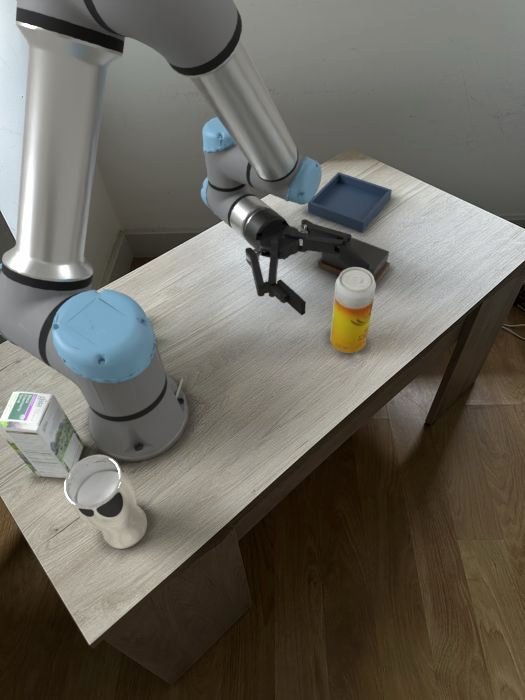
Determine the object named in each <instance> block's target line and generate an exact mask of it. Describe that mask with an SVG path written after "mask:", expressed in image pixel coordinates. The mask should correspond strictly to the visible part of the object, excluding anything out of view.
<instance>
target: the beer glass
mask: <svg viewBox="0 0 525 700" xmlns="http://www.w3.org/2000/svg"><path fill="white" fill-rule="evenodd" d="M63 489H64V494H65V496H66V499H67V500H68V501H69V503H70V504H71V506H72V508H73V510H74V511H75V512H76V514H77V516H79V518H81V520H83V522H85V523H86V524H88V525H89V526H90V527H92V528H94V529H96V530H98V531H100V532H101V533H102V537H103V539H104V541H105V542H106V543H107V544H108V545H109V546H110V547H112V548H115V549H118V550H119V549H120V550H122V549H128V548H131V547H134V546H135V545H136V544H138V543H139V542H140V541H141V540H142V539H143V537H144V536H145V534H146V531H147V528H148V519H147V515H146V513H145V511H144V510H143V509H142V508H141V507H140V506H139V505H137V497H136V493H135V489H134V486H133V483H132V481H131V479H130V478H129V476H128V474H127V473H126V472H125V470H124V469H123V468H122V467H121V465H120V464H119V463H118V460H117V459H114V458H112V457H110V456H108V455H106V454H92V455H88V456H86V457H84V458H82V459H79V462H77V463H76V464H75V465H74V466H73V467H72V468H71V470H70V471H69V473H68V475H67V477H66V478H65V480H64V485H63Z"/></svg>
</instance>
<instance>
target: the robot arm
mask: <svg viewBox="0 0 525 700" xmlns="http://www.w3.org/2000/svg"><path fill="white" fill-rule="evenodd" d="M15 1H16V8H15V9H16V11H15V25H16V27H17V28H18V30H19V31H20V33H21V34H22V36H23V37H24V38H25V40H26V42H27V44H28V47H29V48H28V59H27V73H26V89H25V90H26V91H25V106H24V119H23V132H22V133H23V134H22V150H21V164H20V176H19V177H20V178H19V190H18V191H19V192H18V193H19V194H18V195H19V196H18V205H17V207H18V210H17V222H16V236H15V245H14V246H13V247H12V248H10V249H9V250H7V251H5V252H4V253H3V255H2V258H1V263H0V335H1V337H2V338H3V339H5V340H6V341H8V342H9V343H10V344H12V345H14V346H17V347H19V348H20V349H22V350H24V351H25V352H27V353H29V354H30V355H31V356H33V357H34V358H36V359H37V360H39V361H40V362H42V363H43V364H45V365H47V366H48V367H50V368H51V369H53V370H54V371H56V372H57V373H59V374H60V375H62V376H64V377H65V378H66V379H68V380H70V381H71V382H72V383H73V384H74V385H75V386H76V387H77V388H78V389H79V391H80V393H81V394H82V396H83V397H84V399H85V401H86V403H87V404H88V419H87V420H88V428H89V433H90V435H91V438H92V439H93V441H94V443H95V444H96V446H97V448H98V449H100V451H101V452H103V453H104V455H107V456H109V457H111V458H113V459H114V460H116V461H122V462H127V463H130V462H132V463H133V462H135V463H136V462H143V461H149V460H150V459H154V458H156V457H158V456H161V455H162V454H164V453H165V452H167V451H169V450H170V449H171V448H172V447H173V446H174V445H175V444H176V443H177V442H178V441H179V440H180V438H181V437H182V435H183V434H184V432H185V430H186V428H187V425H188V422H189V414H190V411H189V410H190V409H189V404H188V400H187V397H186V395H185V392H184V390H183V389H182V385H183V383H184V378H183V377H181V378H180V382H179V384H178V382H177V381H175V379H173V378H172V377H171V376H170V375H169V374H168V373H167V372H166V369H165V366H164V363H163V360H162V357H161V353H160V350H159V347H158V343H157V340H156V334H155V330H154V328H153V326H152V325H153V324H152V323H151V322H150V320H149V318H148V316H147V314H146V312H145V310H144V309H143V307H142V306H141V305H140V304H139V303H138V302H137V301H136V300H135V299H134V298H132V297H131V296H129V295H128V294H125V293H123V292H121V291H116V290H113V289H107V288H106V289H105V288H104V289H103V290H101V291H100V292H98V290H96V289H92V285H93V284H92V283H93V278H94V277H93V276H94V267H93V265H92V264H91V263H90V261H89V260H88V259H87V258H86V257H85V251H86V250H85V249H86V242H87V232H88V225H89V217H90V209H91V201H92V195H93V194H92V193H93V186H94V178H95V169H96V161H97V153H98V146H99V137H100V130H101V122H102V112H103V106H104V98H105V90H106V82H107V74H108V69H109V68H110V67H111V65H113V64H114V63H115V62H117V61H118V60H120V59H121V58H123V55H124V49H125V39H126V38H129V39H131V40H135V41H138V42H139V43H141V44H143V45H146V46H147V47H149V48H151V49H152V50H153V51H155V52H157V53H158V54H160V55H161V56H162V57H163V58H164V59H165V61H166V62H167V63H168V64H169V66H170V68H172V70H173V71H174V72H176V73H177V74H178V75H180V76H182V77H186V78H189V79H190V80H191V82H192V83H193V85H194V87H196V89H197V91H198V92H199V93H200V95H201V96H202V98H203V100H204V101H205V102H206V103H207V105H208V106H209V108H210V109H211V110H212V112H213V113H214V115H215V116H216V117H213V118H210V120H209V121H207V122H205V123H204V125H203V128H202V131H201V133H202V144H203V146H202V151H203V155H204V160H205V167H206V172H207V173H206V174H207V176H206V178H205V179H203V182H202V187H201V189H200V196H201V200H202V202H203V203H204V205H206V207H207V208H208V209H210V212H212V213H213V214H214V215H216V217H218V218H219V219H220V220H222V221H223V222H224V223H225V224H226V225H227V226H228V227H230V228H231V229H232V230H233V231H234V232H236V233H237V234H238V235H239V236H240V237H241V238H242V239H244V240H245V242H247V244H249V245H250V246H251V247H246V248H245V249H244V250H245V251H244V252H245V261H246V263H247V264H248V265H249V266H250V267H251V272H252V277H253V281H254V285H255V289H256V290H255V291H256V294H257V296H258V297H264V296H265V294H268V297H270V298H276V299H277V300H278V301H279V302H280V303H281V304H286V303H287V304H288V305H290V306H291V308H293V309H294V310H295V311H296V312H297V313H298V314H299V315H300V316H304V315H305V314H306V310H307V309H306V307H307V303H306V302H307V301H306V300H304V299H303V298H302V297H301V296H300V295H299V294H298V293H297V292H295V290H293V288H291V287H290V286H289V285H288V284H287V283H285V282H284V280H282V279H278V280H277V278H278V269H279V268H278V267H279V260H287V259H288V258H289V257H290V256H293V255H296V254H298V253H306V252H314V253H315V252H316V253H321V254H322V253H330V254H338V255H339V259H340V260H341V261H343V262H344V263H345V264H346V265H348V266H349V267H350V268H351V267H360V268H364V269H366V270H368V271H369V266H370V265H369V264H368V263H367V262H365V261H364V260H363V259H361V258H360V257H359V253H358V252H357V251H355V250H354V249H353V248H351V247H350V246H351V238H353V236H352V234H351V233H347V232H344V231H340V230H337V229H333V228H330V227H327V226H323V225H319V224H315V223H313V222H311V221H310V220H309V219H306V218H304V219H302V220H301V223H300V225H298V226H296V227H295V226H291V225H290V224H289V223H288V221H287V220H286V219H285V218H284V217H283V216H282V215H281V214H279V213H278V212H277V211H275V210H274V209H273V208H272V207H271V206H270V205H269V204H267V203H266V202H264V201H263V200H262V199H261V198H260V197H258V196H257V195H256V194H254V193H253V192H252V191H251V190H250V187H251V188H253V189H256V190H258V191H261V192H264V193H267V194H269V195H271V196H273V197H277V198H279V199H282V200H284V201H285V202H291V203H294V204H297V205H301V206H303V205H306V204H307V205H308V202H310V201H311V200H312V199H313V197H314V196H315V195H316V194H317V193H318V190H319V188H320V185H321V182H322V176H323V175H322V172H323V170H322V166H321V164H320V163H319V162H318V161H317V160H315V159H312V158H310V157H309V156H307V155H306V156H305V155H301V154H300V152H299V150H298V148H297V146H296V144H295V142H294V139H293V138H292V136H291V134H290V132H289V130H288V129H287V126H286V124H285V121H284V120H283V118H282V116H281V114H280V112H279V110H278V108H277V106H276V104H275V102H274V99H273V98H272V96H271V94H270V92H269V90H268V88H267V86H266V84H265V82H264V80H263V79H262V76H261V74H260V72H259V70H258V68H257V66H256V64H255V62H254V60H253V58H252V57H251V54H250V52H249V51H248V49H247V46H246V44H245V42H244V41H243V38H242V37H243V33H244V32H243V31H244V23H243V20H242V15H241V14H240V12H239V10H238V7H237V5H236V3H235V2H234V0H15ZM300 240H301V241H302V244H301V243H300ZM337 246H338V247H339V248H338V247H337ZM260 256H261V257H264V258H269V265H268V266H269V267H268V278H267V281H264V277H263V273H262V269H261V264H260V261H259V260H260Z"/></svg>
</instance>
